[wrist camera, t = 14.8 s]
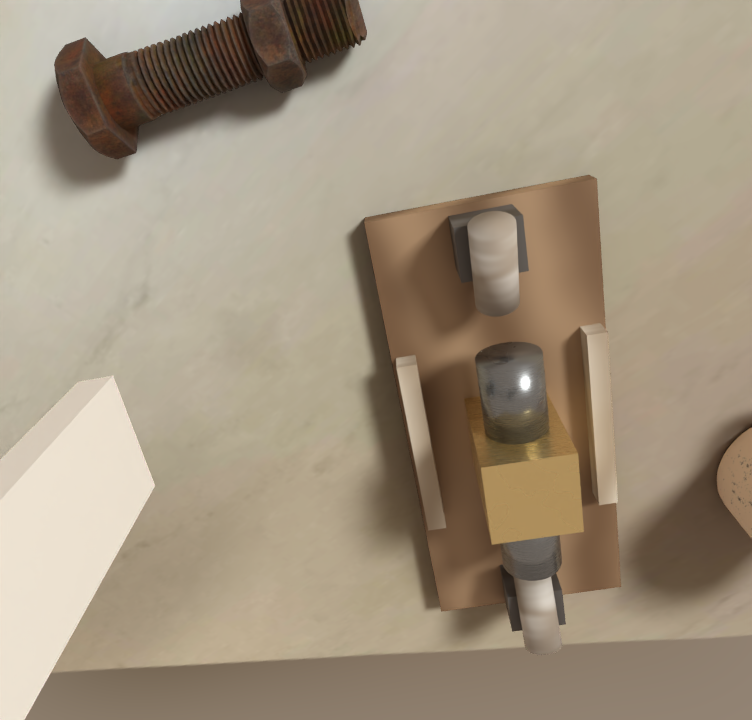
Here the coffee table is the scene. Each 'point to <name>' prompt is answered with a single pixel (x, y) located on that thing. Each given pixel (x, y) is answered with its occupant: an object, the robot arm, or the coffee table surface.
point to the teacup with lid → (738, 480)
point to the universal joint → (523, 461)
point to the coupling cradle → (459, 378)
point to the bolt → (199, 66)
